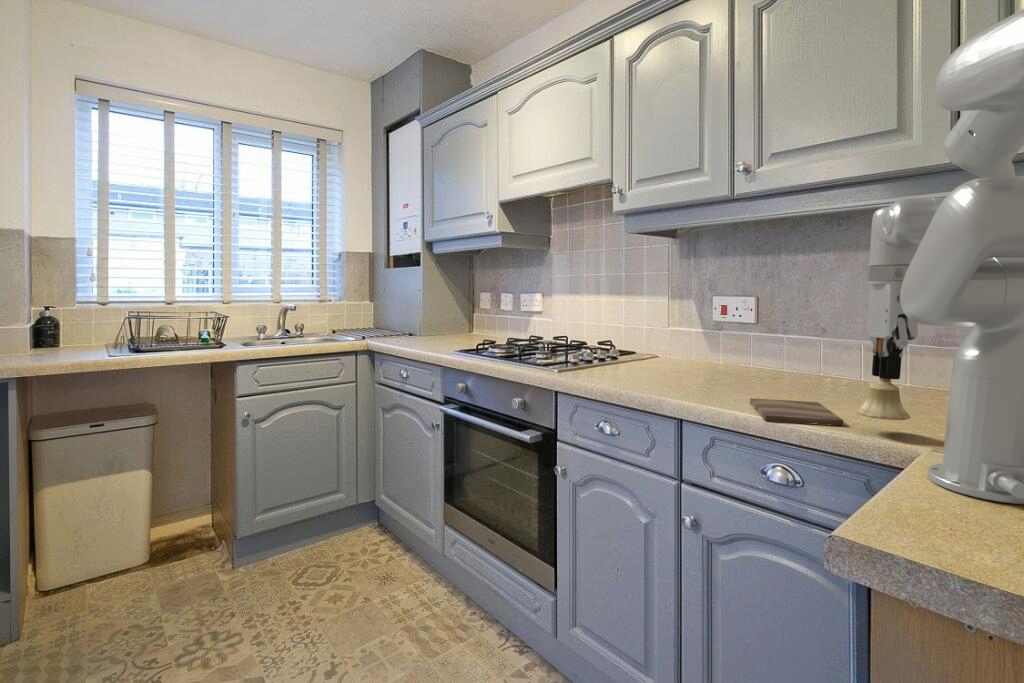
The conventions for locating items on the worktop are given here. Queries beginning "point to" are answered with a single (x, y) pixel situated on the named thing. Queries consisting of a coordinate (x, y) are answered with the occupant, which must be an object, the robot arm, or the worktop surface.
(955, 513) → the worktop surface
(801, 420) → the walnut board
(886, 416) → the hand bell
